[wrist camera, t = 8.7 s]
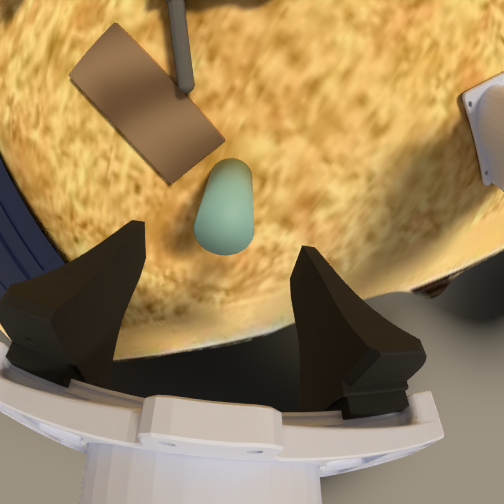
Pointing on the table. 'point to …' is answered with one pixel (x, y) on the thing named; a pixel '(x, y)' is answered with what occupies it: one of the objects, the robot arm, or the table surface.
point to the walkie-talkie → (180, 45)
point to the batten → (145, 103)
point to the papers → (21, 240)
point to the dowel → (226, 209)
